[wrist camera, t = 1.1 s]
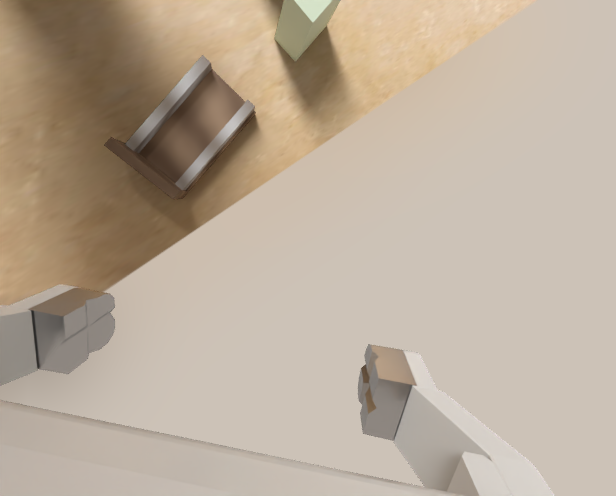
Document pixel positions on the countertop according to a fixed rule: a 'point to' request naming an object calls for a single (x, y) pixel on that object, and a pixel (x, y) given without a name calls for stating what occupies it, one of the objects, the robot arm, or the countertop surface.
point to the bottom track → (186, 131)
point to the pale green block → (302, 23)
